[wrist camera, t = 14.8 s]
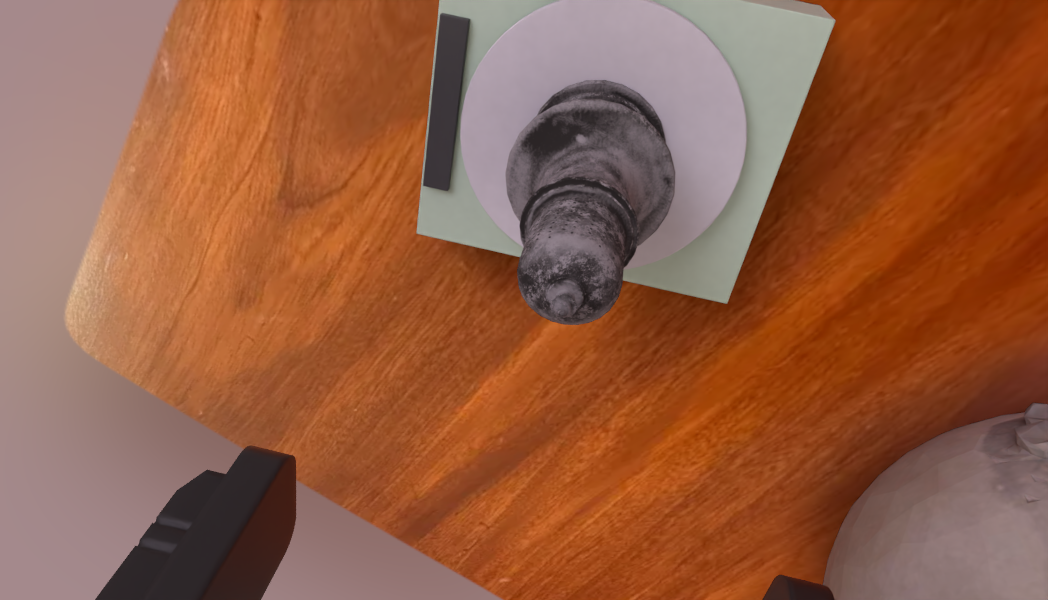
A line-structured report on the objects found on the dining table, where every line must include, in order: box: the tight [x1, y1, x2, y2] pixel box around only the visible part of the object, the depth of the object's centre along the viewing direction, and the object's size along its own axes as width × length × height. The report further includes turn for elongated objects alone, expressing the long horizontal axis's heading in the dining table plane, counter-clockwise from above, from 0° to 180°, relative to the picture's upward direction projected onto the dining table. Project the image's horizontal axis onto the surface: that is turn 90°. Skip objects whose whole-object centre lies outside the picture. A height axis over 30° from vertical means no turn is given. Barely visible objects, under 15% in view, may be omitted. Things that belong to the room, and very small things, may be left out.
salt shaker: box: [505, 80, 675, 325], centre depth 23 cm, size 6×6×12 cm
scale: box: [417, 0, 835, 304], centre depth 30 cm, size 14×12×4 cm
